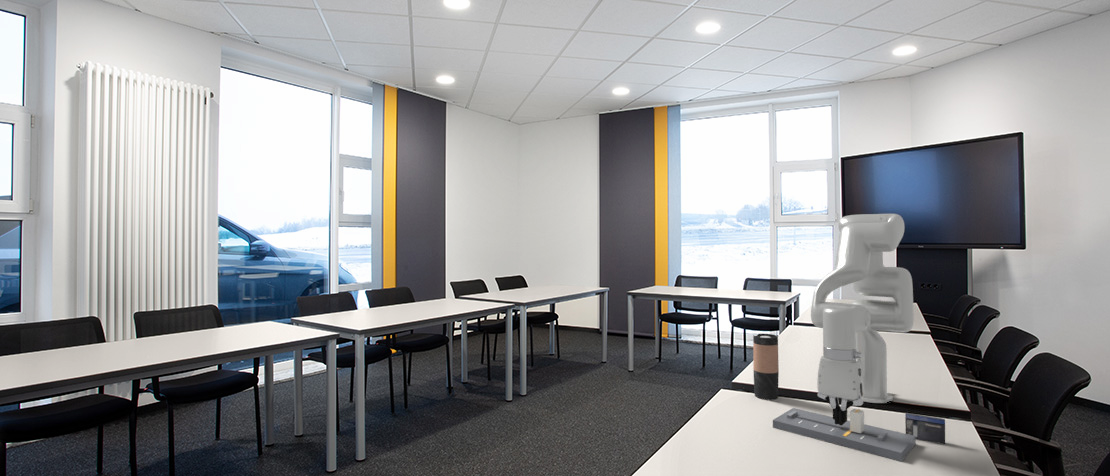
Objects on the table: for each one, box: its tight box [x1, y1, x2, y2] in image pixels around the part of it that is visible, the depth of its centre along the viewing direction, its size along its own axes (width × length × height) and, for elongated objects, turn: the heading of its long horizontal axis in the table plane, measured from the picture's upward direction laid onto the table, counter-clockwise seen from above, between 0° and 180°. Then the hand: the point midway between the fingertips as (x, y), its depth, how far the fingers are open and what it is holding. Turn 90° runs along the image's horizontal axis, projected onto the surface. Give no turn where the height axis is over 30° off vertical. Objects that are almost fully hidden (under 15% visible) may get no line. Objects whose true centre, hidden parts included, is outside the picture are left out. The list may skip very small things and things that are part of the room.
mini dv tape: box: [904, 412, 946, 445], centre depth 130 cm, size 8×2×6 cm, turn 55°
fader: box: [849, 408, 865, 433], centre depth 131 cm, size 3×2×5 cm
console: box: [772, 407, 917, 462], centre depth 134 cm, size 14×30×3 cm, turn 43°
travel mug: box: [752, 333, 780, 401], centre depth 167 cm, size 8×8×20 cm
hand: (840, 423), depth 134 cm, fingers closed
